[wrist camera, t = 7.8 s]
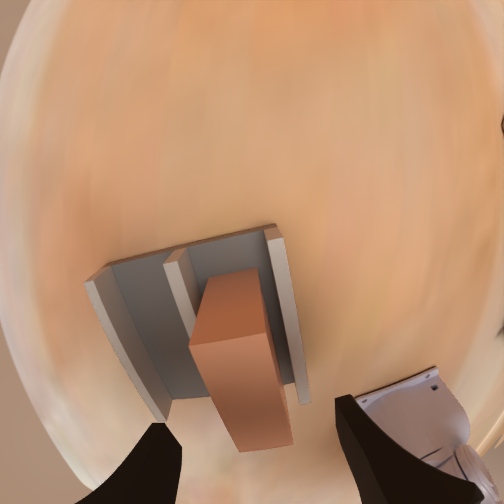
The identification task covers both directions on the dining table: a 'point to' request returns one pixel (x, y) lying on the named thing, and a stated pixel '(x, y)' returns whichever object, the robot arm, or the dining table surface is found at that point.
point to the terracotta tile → (241, 361)
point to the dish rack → (190, 311)
